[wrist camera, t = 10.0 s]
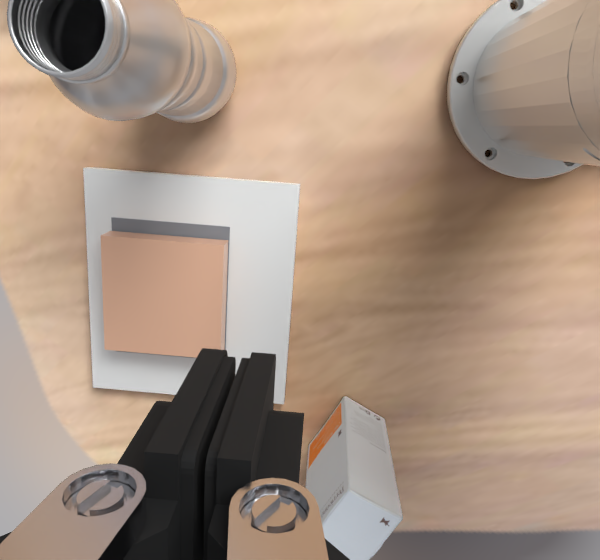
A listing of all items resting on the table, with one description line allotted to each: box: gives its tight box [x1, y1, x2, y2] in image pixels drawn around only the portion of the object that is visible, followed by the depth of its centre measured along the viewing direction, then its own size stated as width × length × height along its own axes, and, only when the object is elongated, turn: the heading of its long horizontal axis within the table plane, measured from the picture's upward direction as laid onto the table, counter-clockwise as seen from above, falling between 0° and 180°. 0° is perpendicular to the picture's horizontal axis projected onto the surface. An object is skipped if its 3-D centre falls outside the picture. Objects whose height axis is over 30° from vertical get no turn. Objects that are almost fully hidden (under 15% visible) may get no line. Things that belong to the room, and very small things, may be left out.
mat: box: [83, 167, 300, 404], centre depth 41 cm, size 16×18×1 cm
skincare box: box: [306, 396, 403, 560], centre depth 39 cm, size 6×4×12 cm
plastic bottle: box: [7, 0, 236, 123], centre depth 28 cm, size 6×7×20 cm
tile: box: [100, 231, 228, 358], centre depth 40 cm, size 2×9×9 cm
